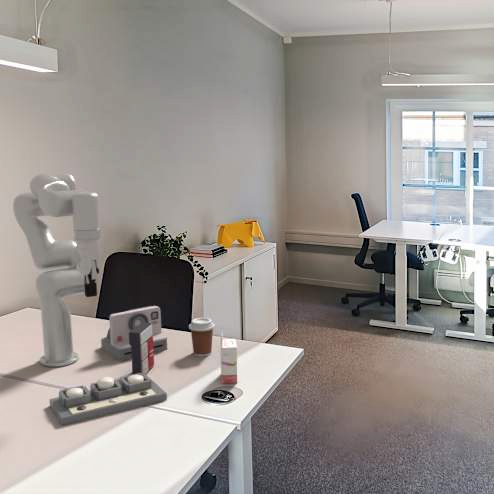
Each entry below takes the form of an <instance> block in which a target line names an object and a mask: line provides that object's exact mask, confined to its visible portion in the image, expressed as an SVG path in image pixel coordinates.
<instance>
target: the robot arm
mask: <svg viewBox="0 0 494 494" xmlns="http://www.w3.org/2000/svg"><path fill="white" fill-rule="evenodd" d="M30 180H31V181H30V183H29V189H30V191H29V192H24V193H20V194H18V195H17V196H16V197H14V199H13V203H12V204H13V205H12V209H13V213H14V217H15V219H16V222H17V224H18V226H19V227H20V229H21V230H22V232H23V234H24V236H25V238H26V241H27V245H28V248H29V251H30V254H31V258H32V261H33V263H34V265H35V267H36V269H38V270H41V271H45V272H42V273H41V274H39V275H38V276H37V278H36V281H35V287H36V291H37V295H38V299H39V306H40V314H41V317H40V318H41V326H42V327H41V328H42V339H43V340H42V341H43V356H41V357H40V359H39V363H40V365H42V366H44V367H50V368H51V367H52V368H53V367H55V368H57V367H65V366H68V365H71V364H74V363H75V362H77V361H78V359H79V354H78V352H75V351H74V343H73V340H74V339H73V330H72V329H73V328H72V327H73V326H72V312H71V308H70V306H69V305H68V304H67V303H66V302H65V301H64V298H67V297H73V296H74V297H75V296H79V295H82V294H83V295H84V296H85V297H87V298H91V297H97V296H98V289H97V288H98V285H97V279H98V275H99V274H100V273H101V271H102V269H101V268H102V264H101V251H100V243H99V241H101V240H102V234H101V217H100V215H101V214H100V202H99V201H100V198H99V195H98V193H96V192H91V191H89V190H86V189H78V190H77V182H76V180H75V178H74V176H73V175H71V174H69V173H67V172H57V173H56V172H53V173H50V172H49V173H40V174H36V175H35V176H34V177H33V178H32V179H30ZM47 216H49V217H52V218H63V217H72V223H73V238H74V240H72V239H61V240H56V239H55V238H54V236H53V233H52V230H51V227H49V226H48V225H47V224H46V223H45V222H44V221H43V220H41V219H39V217H47Z"/></svg>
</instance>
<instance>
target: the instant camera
mask: <svg viewBox="0 0 494 494" xmlns="http://www.w3.org/2000/svg"><path fill="white" fill-rule="evenodd" d="M161 314H162V313H161V307H159V306H157V305H153V306H152V305H149V306H143V307H138V308H133V309H129V310H126V311H122V312H116V313H111V314H110V315H109V318H108V319H109V328H108V330H107V333H106V336H105V337H102V338H101V339H100V345H101V346H100V347H101V350H103V351H104V352H106V353H107V354H109V355H111V357H113V358H115V359H117V361H127V360H129V359H132V353H131V346H130V344H129V332H130V331H131V330H133V329H134V328H135V327H136V326H138V325H139V324H140V323H151V325H152V337H153V347H154V354H156V353H159V352H163V351H166V350H167V351H168V337H167V335H166V334H164V333H162V315H161Z"/></svg>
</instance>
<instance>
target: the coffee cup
mask: <svg viewBox="0 0 494 494" xmlns="http://www.w3.org/2000/svg"><path fill="white" fill-rule="evenodd" d="M215 328H216V326H215V323H214V322H212V319H211V318H208V317H198V318H193V319H192V320H191V323H190V324H189V325H188V329H189V330H190V335H191V343H192V350H193V351H192V352H193V355H194V356H197V357H207V356H210V355H212V353H213V352H212V350H213V333H214V329H215Z"/></svg>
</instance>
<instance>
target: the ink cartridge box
mask: <svg viewBox="0 0 494 494" xmlns="http://www.w3.org/2000/svg"><path fill="white" fill-rule="evenodd" d="M220 375H221V382H222V384H223V385H224V384H237V383H238V345H237V341H236V338H224V337H223V330H221V334H220Z"/></svg>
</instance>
